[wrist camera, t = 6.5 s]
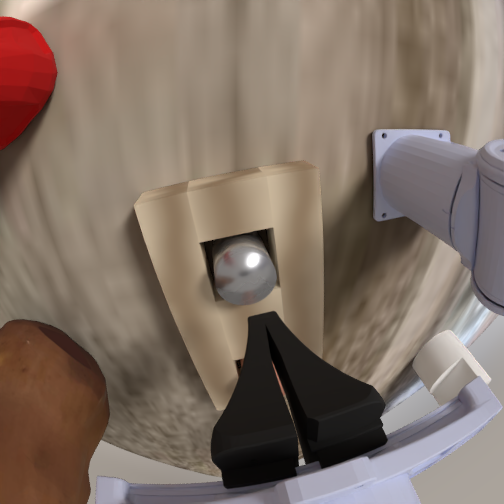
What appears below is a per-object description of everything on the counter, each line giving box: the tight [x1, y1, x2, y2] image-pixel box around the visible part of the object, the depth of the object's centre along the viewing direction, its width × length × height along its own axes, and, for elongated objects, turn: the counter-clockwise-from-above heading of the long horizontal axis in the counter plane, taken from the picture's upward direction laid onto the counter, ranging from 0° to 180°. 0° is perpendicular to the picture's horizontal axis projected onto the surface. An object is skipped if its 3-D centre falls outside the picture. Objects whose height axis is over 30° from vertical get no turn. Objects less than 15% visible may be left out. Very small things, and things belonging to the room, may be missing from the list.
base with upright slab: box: [412, 330, 491, 406], centre depth 32 cm, size 9×9×12 cm
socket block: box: [134, 161, 324, 411], centre depth 24 cm, size 12×24×3 cm, turn 9°
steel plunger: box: [212, 231, 277, 305], centre depth 20 cm, size 4×4×4 cm
